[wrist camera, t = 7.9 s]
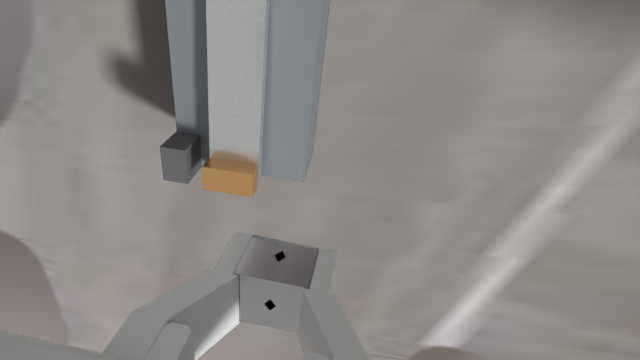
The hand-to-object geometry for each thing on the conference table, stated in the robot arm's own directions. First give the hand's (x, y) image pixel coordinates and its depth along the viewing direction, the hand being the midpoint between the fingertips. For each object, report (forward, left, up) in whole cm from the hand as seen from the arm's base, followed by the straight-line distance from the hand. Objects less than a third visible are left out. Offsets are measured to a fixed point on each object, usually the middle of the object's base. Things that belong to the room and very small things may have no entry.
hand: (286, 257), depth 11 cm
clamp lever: (+7, +1, -19) cm, 20 cm away
